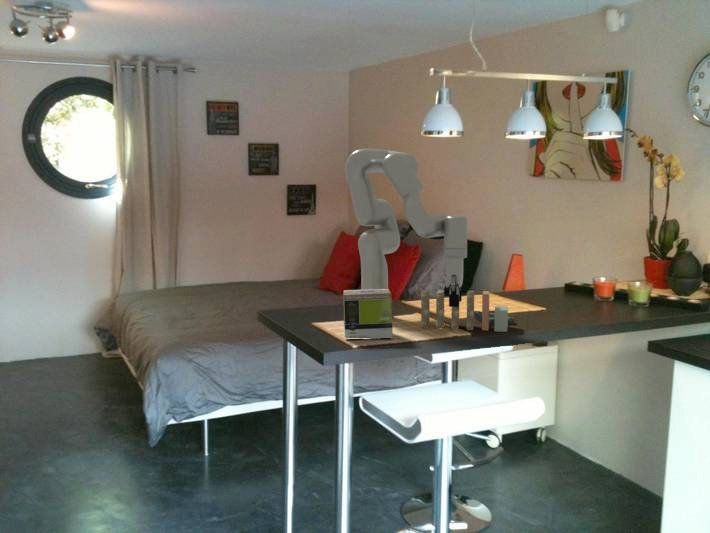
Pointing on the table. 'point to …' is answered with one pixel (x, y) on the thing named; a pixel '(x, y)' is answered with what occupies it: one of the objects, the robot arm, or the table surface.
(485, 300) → the domino
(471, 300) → the domino
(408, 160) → the robot arm
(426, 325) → the domino
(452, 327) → the domino
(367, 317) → the tea box
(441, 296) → the domino
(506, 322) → the block
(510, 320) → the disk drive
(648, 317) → the table surface
